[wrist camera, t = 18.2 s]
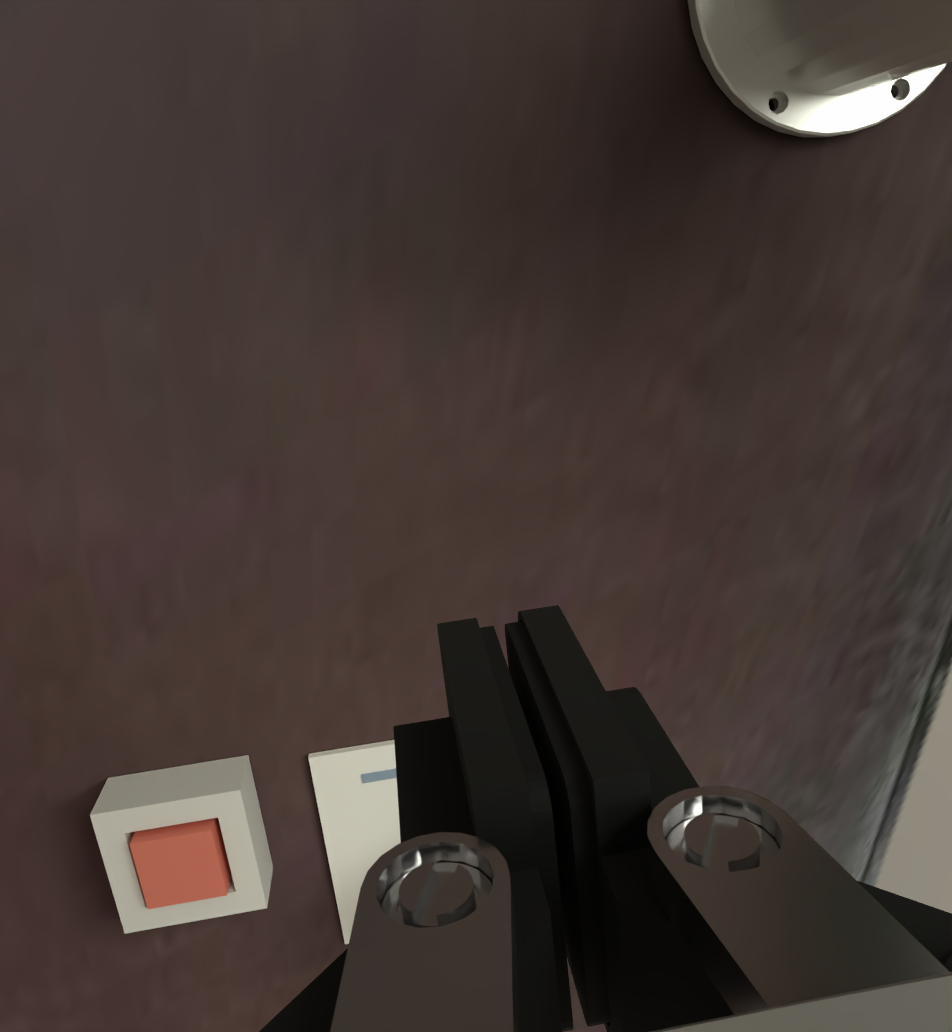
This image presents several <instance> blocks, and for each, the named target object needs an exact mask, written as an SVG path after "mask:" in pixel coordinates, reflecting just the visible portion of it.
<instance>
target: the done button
mask: <svg viewBox="0 0 952 1032" xmlns="http://www.w3.org/2000/svg"><path fill="white" fill-rule="evenodd" d="M130 848H131V851H132V855H133V858H134V862H135V865H136V869H137V873H138V876H139V880H140V883H141V887H142V890H143V894H144V897H145V901H146V905H147V908H148V909H153V908H159V907H164V906H170V905H176V904H181V903H187V902H192V901H198V900H204V899H209V898H215V897H221V896H226V895H227V893H228V888H229V884H230V879H231V869H230V865H229V861H228V857H227V853H226V849H225V844H224V840H223V836H222V832H221V828H220V824H219V819H218V818H212V819H206V820H200V821H195V822H189V823H183V824H177V825H171V826H165V827H159V828H153V829H147V830H141V831H135V832H134V835H133V837H132V840H131V842H130Z"/></svg>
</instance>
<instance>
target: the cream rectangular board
mask: <svg viewBox="0 0 952 1032" xmlns="http://www.w3.org/2000/svg"><path fill="white" fill-rule="evenodd" d="M308 759H309V764H310V769H311V774H312V779H313V784H314V789H315V795H316V800H317V805H318V810H319V815H320V820H321V825H322V830H323V835H324V840H325V845H326V850H327V856H328V861H329V866H330V871H331V876H332V881H333V886H334V891H335V896H336V901H337V906H338V911H339V917H340V922H341V927H342V932H343V937H344V942H345V944H349V940H350V936H351V931H352V926H353V921H354V917H355V912H356V907H357V902H358V898H359V893H360V888H361V885H362V883H363V881H364V878H365V876H366V874H367V871H368V870H369V869H370V868H371V866H372V865H373V864H374V863H375V862H376V861H377V860H378V858H379V857H380V856H381V855H383V854H384V853H386V852H387V851H389V850H390V849H392V848H393V847H395V846H396V845H398V844H400V843H401V840H400V824H399V808H398V791H397V775H396V759H395V743H394V740H389V741H383V742H377V743H371V744H365V745H359V746H353V747H347V748H341V749H335V750H328V751H322V752H316V753H310V754H309V757H308Z"/></svg>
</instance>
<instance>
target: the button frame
mask: <svg viewBox="0 0 952 1032" xmlns="http://www.w3.org/2000/svg"><path fill="white" fill-rule="evenodd" d="M90 817H91V821H92V824H93V828H94V831H95V834H96V838H97V841H98V845H99V848H100V851H101V855H102V858H103V862H104V865H105V868H106V872H107V875H108V879H109V882H110V885H111V889H112V892H113V895H114V899H115V902H116V906H117V909H118V912H119V916H120V919H121V923H122V926H123V929H124V933H125V934H126V933H131V932H137V931H142V930H148V929H153V928H159V927H165V926H170V925H176V924H181V923H187V922H193V921H198V920H204V919H209V918H215V917H221V916H226V915H232V914H237V913H243V912H248V911H254V910H260V909H265V908H267V905H268V899H269V892H270V885H271V878H272V872H273V865H272V860H271V856H270V851H269V847H268V842H267V838H266V833H265V829H264V824H263V819H262V815H261V810H260V806H259V801H258V797H257V792H256V788H255V783H254V779H253V774H252V770H251V765H250V761H249V756H248V755H245V756H239V757H233V758H227V759H221V760H214V761H208V762H202V763H196V764H190V765H184V766H178V767H172V768H166V769H159V770H153V771H147V772H141V773H135V774H129V775H123V776H117V777H110V778H108V779H107V781H106V783H105V785H104V787H103V789H102V791H101V793H100V795H99V797H98V799H97V801H96V803H95V805H94V808H93V810H92V812H91V814H90ZM212 818H218V819H219V824H220V828H221V832H222V836H223V840H224V844H225V849H226V853H227V857H228V861H229V865H230V869H231V879H230V884H229V888H228V893H227V895H226V896H221V897H215V898H209V899H204V900H198V901H192V902H187V903H181V904H176V905H170V906H164V907H159V908H153V909H148V908H147V905H146V901H145V897H144V894H143V890H142V887H141V883H140V880H139V876H138V873H137V869H136V865H135V862H134V858H133V855H132V851H131V848H130V842H131V840H132V837H133V835H134V832H135V831H141V830H147V829H153V828H159V827H165V826H171V825H177V824H183V823H189V822H195V821H200V820H206V819H212Z"/></svg>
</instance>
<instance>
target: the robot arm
mask: <svg viewBox="0 0 952 1032" xmlns="http://www.w3.org/2000/svg"><path fill="white" fill-rule="evenodd" d="M688 7H689V13H690V20H691V26H692V30H693V33H694V36H695V39H696V42H697V45H698V48H699V51H700V54H701V57H702V59H703V61H704V63H705V65H706V66H707V68H708V70H709V72H710V74H711V75H712V77H713V79H714V81H715V83H716V84H717V85H718V86H719V88H720V89H721V90H722V91H723V92H724V94H725V95H726V96H727V97H728V98H729V99H730V101H731V102H732V103H733V104H734V105H735V106H736V107H738V108H739V109H740V110H742V111H743V112H744V113H745V114H747V115H748V116H749V117H750V118H752V119H753V120H754V121H756V122H758V123H760V124H763V125H765V126H767V127H769V128H771V129H773V130H775V131H777V132H781V133H785V134H790V135H794V136H799V137H833V136H838V135H843V134H848V133H853V132H856V131H859V130H862V129H865V128H868V127H871V126H874V125H877V124H879V123H880V122H882V121H884V120H886V119H888V118H889V117H891V116H893V115H895V114H897V113H898V112H900V111H902V110H903V109H904V108H905V107H907V106H908V105H909V104H910V103H911V102H913V101H914V100H915V99H916V98H917V97H919V96H920V95H921V94H922V93H924V92H925V90H926V89H927V88H928V87H929V86H930V85H931V83H932V82H933V81H934V80H935V79H936V78H937V76H938V75H939V74H940V73H941V72H942V71H943V70H944V68H945V66H946V65H947V63H949V62H952V0H688ZM891 89H892V91H893V95H891ZM769 100H772V101H773V103H774V108H773V110H772V111H771V110H770V108H769V104H768V103H769ZM437 628H438V636H439V644H440V651H441V658H442V666H443V673H444V681H445V688H446V695H447V703H448V710H449V717H447V718H441V719H435V720H429V721H422V722H416V723H410V724H404V725H398V726H394V743H395V759H396V775H397V791H398V808H399V824H400V840H401V843H400V844H398V845H396V846H395V847H393V848H392V849H390V850H389V851H387V852H386V853H384V854H383V855H381V856H380V857H379V858H378V860H377V861H376V862H375V863H374V864H373V865H372V866H371V868H370V869H369V870H368V871H367V874H366V876H365V878H364V881H363V883H362V885H361V888H360V893H359V898H358V902H357V907H356V912H355V917H354V921H353V926H352V931H351V936H350V940H349V945H348V949H347V950H346V951H344V952H343V953H342V954H341V955H340V956H339V957H338V958H337V959H336V960H335V961H334V962H333V963H332V964H331V965H330V966H328V967H327V968H326V969H325V970H324V971H323V972H322V973H321V974H320V975H319V976H318V977H317V978H316V979H315V980H314V981H313V982H311V983H310V984H309V985H308V986H307V987H306V988H305V989H304V990H303V991H302V992H301V993H300V994H299V995H298V996H297V997H295V998H294V999H293V1000H292V1001H291V1002H290V1003H289V1004H288V1005H287V1006H286V1007H285V1008H284V1009H283V1010H282V1011H281V1012H280V1013H278V1014H277V1015H276V1016H275V1017H274V1018H273V1019H272V1020H271V1021H270V1022H269V1023H268V1024H267V1025H266V1026H265V1027H264V1028H262V1029H261V1030H260V1031H259V1032H563V1031H568V1030H573V1018H572V1008H571V997H570V987H569V977H568V966H567V958H568V962H569V965H570V969H571V972H572V976H573V979H574V983H575V986H576V990H577V993H578V997H579V1000H580V1004H581V1007H582V1010H583V1014H584V1017H585V1020H586V1023H587V1025H588V1026H593V1025H599V1024H604V1023H605V1027H606V1030H607V1032H952V914H951V913H948V912H945V911H942V910H939V909H936V908H934V907H931V906H928V905H925V904H922V903H919V902H917V901H913V900H911V899H908V898H905V897H902V896H899V895H896V894H893V893H891V892H888V891H885V890H882V889H879V888H876V887H873V886H870V885H868V884H865V883H862V882H859V881H856V880H855V879H854V878H853V877H852V876H851V875H850V874H849V873H848V872H847V871H846V870H845V869H844V868H843V867H842V866H841V865H840V864H839V863H838V862H837V861H836V860H835V859H834V858H832V857H831V856H830V855H829V854H828V853H827V852H826V851H825V850H824V849H823V848H822V847H821V846H820V845H819V844H818V843H817V842H816V841H815V840H814V839H813V838H812V837H811V836H810V835H809V834H808V833H807V832H806V831H805V830H804V829H803V828H802V827H801V826H800V825H799V824H798V823H797V822H796V821H795V820H793V819H792V818H791V817H790V816H789V815H788V814H787V813H786V812H785V811H784V810H783V809H781V808H780V807H778V806H777V805H776V804H774V803H773V802H772V801H770V800H769V799H766V798H764V797H762V796H759V795H757V794H755V793H752V792H750V791H746V790H741V789H737V788H732V787H726V786H702V787H699V786H698V784H697V783H696V781H695V779H694V778H693V776H692V775H691V773H690V771H689V770H688V768H687V767H686V765H685V763H684V762H683V760H682V759H681V757H680V755H679V754H678V752H677V751H676V749H675V747H674V746H673V744H672V743H671V741H670V739H669V738H668V736H667V735H666V733H665V731H664V730H663V728H662V727H661V725H660V723H659V722H658V720H657V719H656V717H655V715H654V714H653V712H652V711H651V709H650V707H649V706H648V704H647V703H646V701H645V699H644V698H643V696H642V695H641V693H640V692H639V691H638V690H637V688H634V687H631V688H625V689H619V690H613V691H605V689H604V687H603V686H602V684H601V682H600V680H599V678H598V676H597V675H596V673H595V671H594V669H593V667H592V665H591V664H590V662H589V660H588V658H587V656H586V655H585V653H584V651H583V649H582V647H581V645H580V644H579V642H578V640H577V638H576V636H575V635H574V633H573V631H572V629H571V627H570V625H569V624H568V622H567V620H566V618H565V616H564V615H563V613H562V611H561V609H560V607H559V606H558V605H557V606H551V607H544V608H538V609H531V610H525V611H519V612H518V622H515V623H509V624H505V637H506V646H507V655H508V664H509V669H508V666H507V664H506V661H505V658H504V655H503V652H502V649H501V646H500V643H499V640H498V638H497V635H496V632H495V629H494V626H489V627H483V628H479V625H478V621H477V619H476V618H472V619H466V620H459V621H453V622H446V623H440V624H437ZM566 955H567V956H566Z"/></svg>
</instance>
